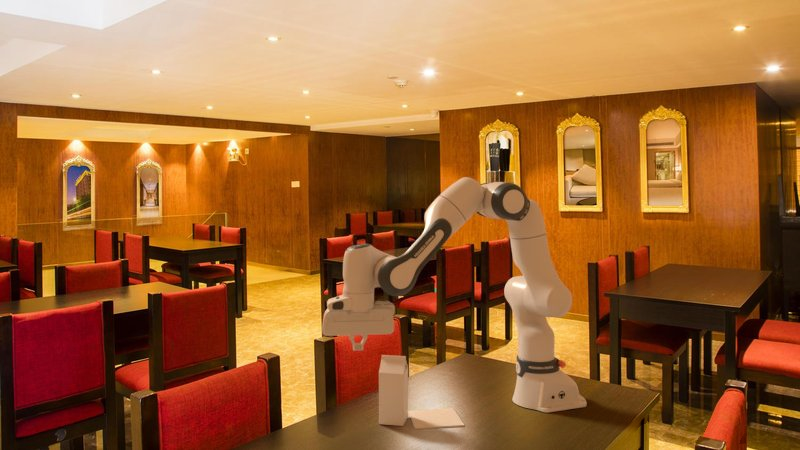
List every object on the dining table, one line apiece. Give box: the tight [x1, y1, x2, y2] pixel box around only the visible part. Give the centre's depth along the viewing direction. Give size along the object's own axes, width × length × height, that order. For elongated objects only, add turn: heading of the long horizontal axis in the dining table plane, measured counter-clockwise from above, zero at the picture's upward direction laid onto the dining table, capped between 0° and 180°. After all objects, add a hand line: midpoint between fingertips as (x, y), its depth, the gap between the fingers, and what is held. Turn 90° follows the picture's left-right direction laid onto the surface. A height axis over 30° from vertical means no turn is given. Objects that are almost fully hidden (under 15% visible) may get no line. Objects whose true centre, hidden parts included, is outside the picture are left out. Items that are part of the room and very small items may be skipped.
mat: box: [408, 407, 465, 430], centre depth 169 cm, size 14×13×1 cm
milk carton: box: [378, 354, 409, 427], centre depth 167 cm, size 7×7×19 cm
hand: (358, 350), depth 165 cm, fingers closed
